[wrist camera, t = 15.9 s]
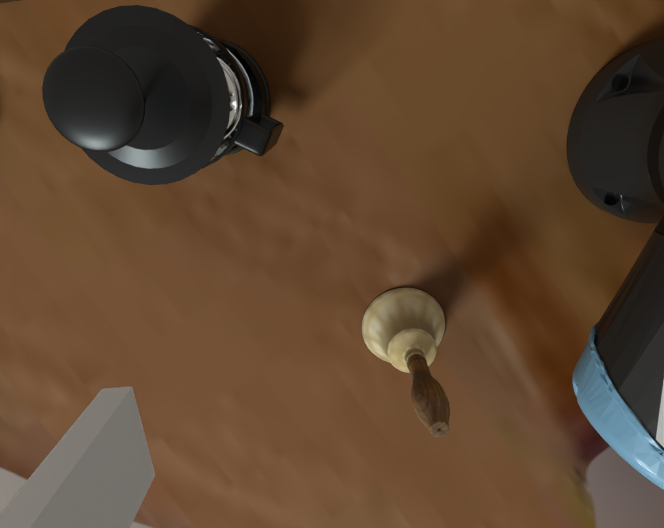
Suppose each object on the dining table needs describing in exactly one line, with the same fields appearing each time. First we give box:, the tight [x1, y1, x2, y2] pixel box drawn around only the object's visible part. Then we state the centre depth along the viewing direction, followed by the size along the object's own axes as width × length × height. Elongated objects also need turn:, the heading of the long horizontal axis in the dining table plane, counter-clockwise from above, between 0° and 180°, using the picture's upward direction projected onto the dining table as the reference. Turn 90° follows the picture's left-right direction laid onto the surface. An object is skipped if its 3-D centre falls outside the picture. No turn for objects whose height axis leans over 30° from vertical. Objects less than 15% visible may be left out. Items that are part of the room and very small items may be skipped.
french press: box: [42, 5, 284, 185], centre depth 31 cm, size 12×9×23 cm
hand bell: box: [362, 288, 450, 437], centre depth 41 cm, size 8×8×16 cm
